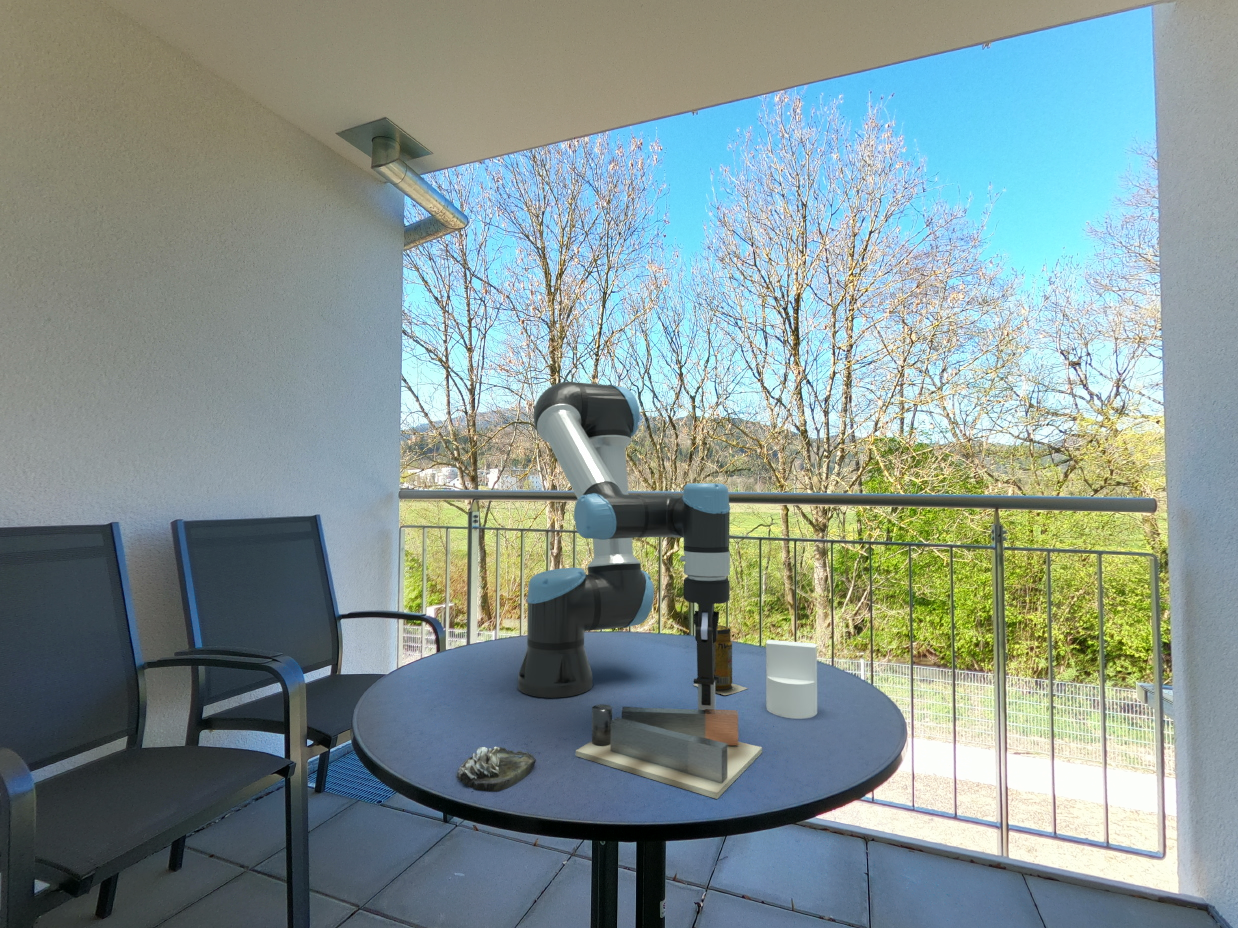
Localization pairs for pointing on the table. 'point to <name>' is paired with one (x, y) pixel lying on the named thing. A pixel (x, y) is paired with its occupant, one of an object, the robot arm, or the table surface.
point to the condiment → (724, 663)
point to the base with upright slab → (791, 679)
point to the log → (495, 769)
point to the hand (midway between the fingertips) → (706, 722)
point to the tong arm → (689, 721)
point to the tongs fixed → (660, 745)
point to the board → (736, 765)
